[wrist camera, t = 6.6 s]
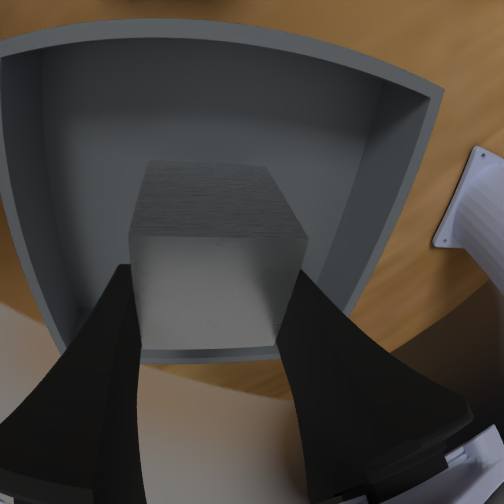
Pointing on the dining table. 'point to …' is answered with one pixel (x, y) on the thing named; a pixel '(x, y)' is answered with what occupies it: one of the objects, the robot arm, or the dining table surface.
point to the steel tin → (212, 256)
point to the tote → (198, 148)
